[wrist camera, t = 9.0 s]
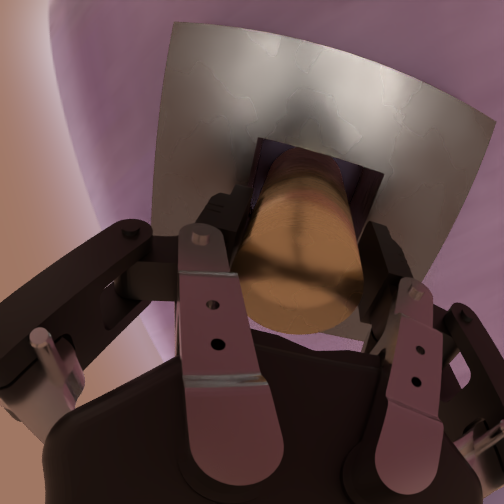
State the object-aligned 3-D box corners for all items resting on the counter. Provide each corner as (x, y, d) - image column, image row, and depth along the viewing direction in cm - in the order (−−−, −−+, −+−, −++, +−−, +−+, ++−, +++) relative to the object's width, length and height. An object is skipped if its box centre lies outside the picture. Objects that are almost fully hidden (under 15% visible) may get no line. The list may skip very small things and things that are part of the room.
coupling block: (200, 29, 12) (174, 21, 10) (463, 108, 12) (496, 121, 9) (171, 254, 20) (150, 288, 18) (372, 305, 20) (379, 344, 17)
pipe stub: (277, 136, 16) (243, 211, 8) (351, 158, 15) (386, 252, 8) (261, 203, 18) (220, 316, 10) (329, 222, 18) (334, 345, 10)
